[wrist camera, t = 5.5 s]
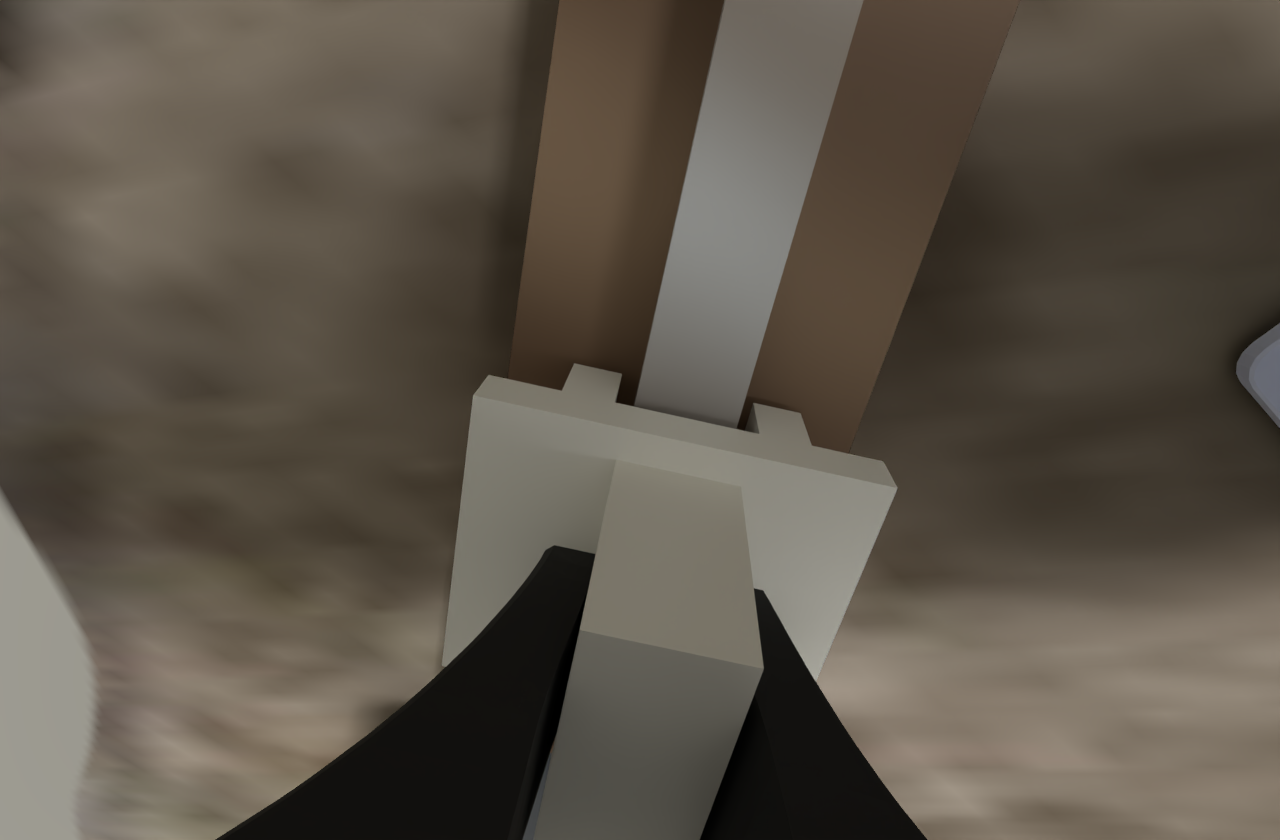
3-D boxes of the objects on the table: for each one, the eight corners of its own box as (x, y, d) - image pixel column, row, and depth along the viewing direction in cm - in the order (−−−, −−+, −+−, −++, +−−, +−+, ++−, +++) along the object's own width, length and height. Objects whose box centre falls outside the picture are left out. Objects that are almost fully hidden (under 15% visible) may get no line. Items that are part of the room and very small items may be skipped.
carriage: (508, 348, 11) (364, 541, 6) (865, 427, 12) (997, 675, 7) (475, 590, 13) (347, 876, 8) (778, 654, 14) (828, 973, 9)
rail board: (619, -307, 9) (595, -435, 7) (1062, -200, 9) (1174, -291, 7) (474, 692, 17) (440, 781, 14) (720, 743, 17) (724, 839, 15)
